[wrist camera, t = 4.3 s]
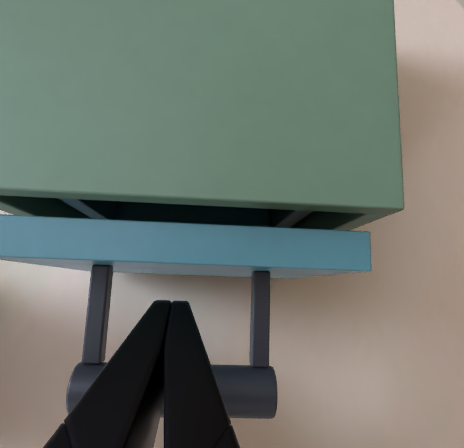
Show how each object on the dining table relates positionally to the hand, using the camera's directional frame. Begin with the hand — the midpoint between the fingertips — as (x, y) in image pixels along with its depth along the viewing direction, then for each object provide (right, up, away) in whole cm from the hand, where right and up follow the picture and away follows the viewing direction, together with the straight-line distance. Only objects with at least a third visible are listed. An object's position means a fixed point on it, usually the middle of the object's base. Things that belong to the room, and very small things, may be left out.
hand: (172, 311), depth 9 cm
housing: (0, +8, +13) cm, 16 cm away
